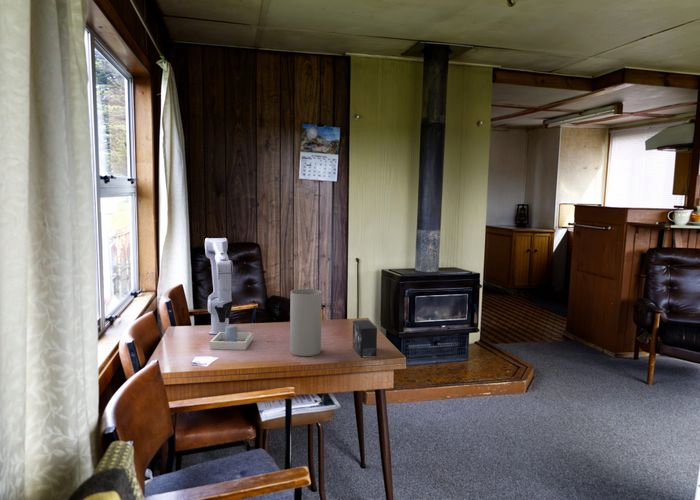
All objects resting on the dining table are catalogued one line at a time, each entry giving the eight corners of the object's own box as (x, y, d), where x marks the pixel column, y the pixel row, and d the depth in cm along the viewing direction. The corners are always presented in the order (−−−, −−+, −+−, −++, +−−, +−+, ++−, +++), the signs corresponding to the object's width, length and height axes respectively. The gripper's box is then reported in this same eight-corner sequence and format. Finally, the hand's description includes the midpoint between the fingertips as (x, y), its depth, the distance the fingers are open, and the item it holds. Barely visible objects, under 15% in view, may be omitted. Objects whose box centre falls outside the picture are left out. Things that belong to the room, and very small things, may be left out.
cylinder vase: (325, 354, 200) (327, 293, 197) (297, 358, 194) (298, 295, 191) (312, 345, 211) (313, 288, 208) (285, 349, 204) (285, 290, 202)
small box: (351, 347, 209) (352, 320, 208) (367, 346, 211) (368, 319, 210) (360, 357, 197) (361, 328, 196) (377, 356, 199) (377, 327, 197)
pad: (225, 341, 214) (225, 340, 214) (242, 341, 214) (242, 341, 214) (221, 346, 207) (221, 345, 207) (238, 346, 207) (238, 346, 207)
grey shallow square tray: (219, 338, 218) (219, 332, 218) (252, 339, 218) (252, 332, 218) (209, 348, 203) (209, 341, 203) (245, 349, 203) (245, 342, 203)
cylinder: (227, 341, 213) (226, 325, 212) (238, 341, 213) (238, 325, 212) (224, 345, 208) (224, 328, 207) (236, 345, 208) (236, 328, 207)
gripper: (219, 285, 219) (219, 315, 220) (210, 292, 204) (210, 324, 206) (235, 286, 219) (235, 316, 220) (227, 292, 204) (227, 324, 206)
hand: (224, 320), depth 213 cm, fingers open, 7 cm apart
